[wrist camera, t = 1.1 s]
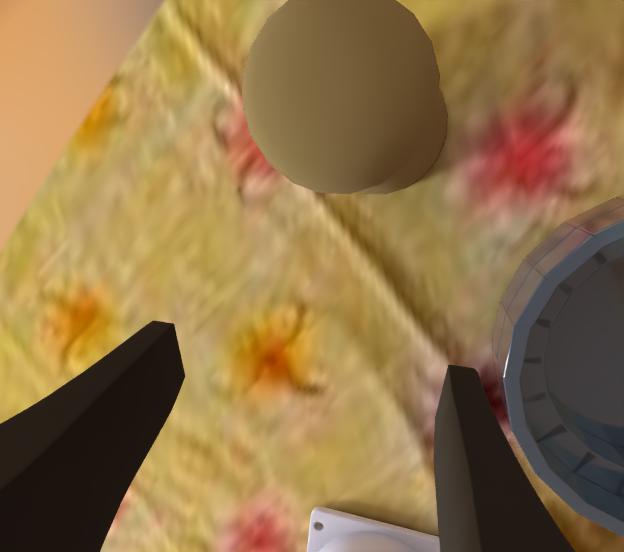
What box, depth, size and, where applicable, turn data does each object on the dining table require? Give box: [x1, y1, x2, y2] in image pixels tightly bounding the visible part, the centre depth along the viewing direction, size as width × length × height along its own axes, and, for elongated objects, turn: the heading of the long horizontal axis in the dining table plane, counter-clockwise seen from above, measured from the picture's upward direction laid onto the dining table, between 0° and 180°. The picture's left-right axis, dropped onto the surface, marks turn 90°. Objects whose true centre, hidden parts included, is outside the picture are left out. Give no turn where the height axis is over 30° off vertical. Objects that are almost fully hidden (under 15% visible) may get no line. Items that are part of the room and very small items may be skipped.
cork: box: [242, 0, 448, 194], centre depth 16 cm, size 6×6×11 cm
